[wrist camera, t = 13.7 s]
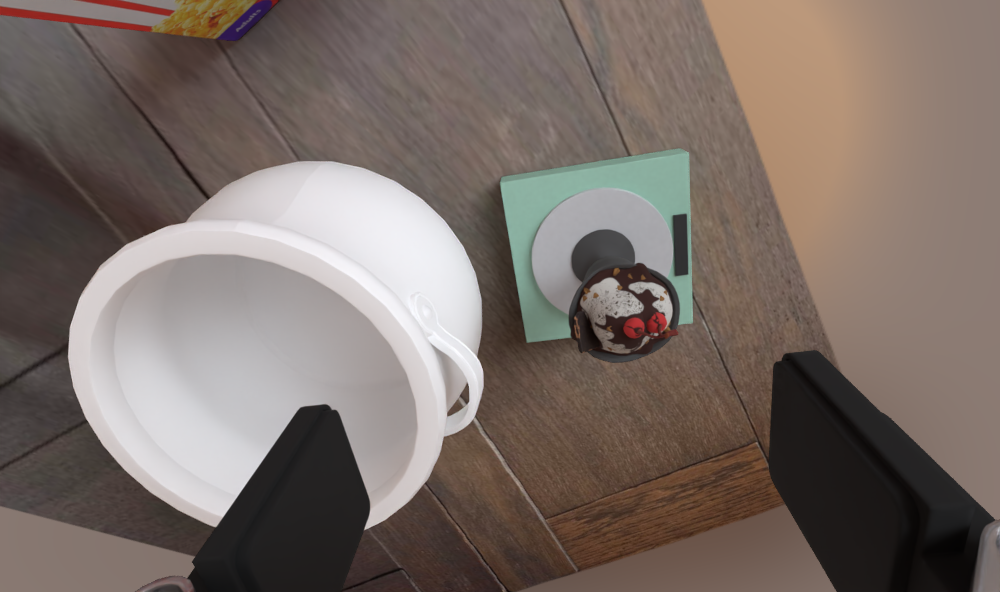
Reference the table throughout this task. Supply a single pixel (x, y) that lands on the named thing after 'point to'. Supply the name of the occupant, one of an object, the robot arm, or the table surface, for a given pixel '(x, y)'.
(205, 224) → the pot
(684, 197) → the scale
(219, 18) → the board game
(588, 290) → the sundae
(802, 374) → the robot arm
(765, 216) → the table surface
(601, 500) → the table surface
